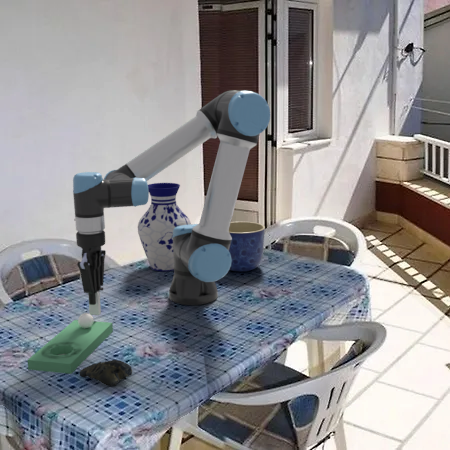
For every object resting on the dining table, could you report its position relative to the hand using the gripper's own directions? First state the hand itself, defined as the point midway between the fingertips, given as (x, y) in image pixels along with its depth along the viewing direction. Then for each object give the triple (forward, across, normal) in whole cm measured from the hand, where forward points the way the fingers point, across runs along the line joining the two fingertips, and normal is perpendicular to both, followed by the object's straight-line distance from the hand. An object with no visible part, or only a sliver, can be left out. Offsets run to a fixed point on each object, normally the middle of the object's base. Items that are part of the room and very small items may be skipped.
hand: (95, 313), depth 169 cm
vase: (+4, -56, +2) cm, 56 cm away
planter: (+4, -60, +29) cm, 67 cm away
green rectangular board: (+4, +14, 0) cm, 15 cm away
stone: (+4, +28, +15) cm, 32 cm away
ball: (-1, +6, 0) cm, 6 cm away
